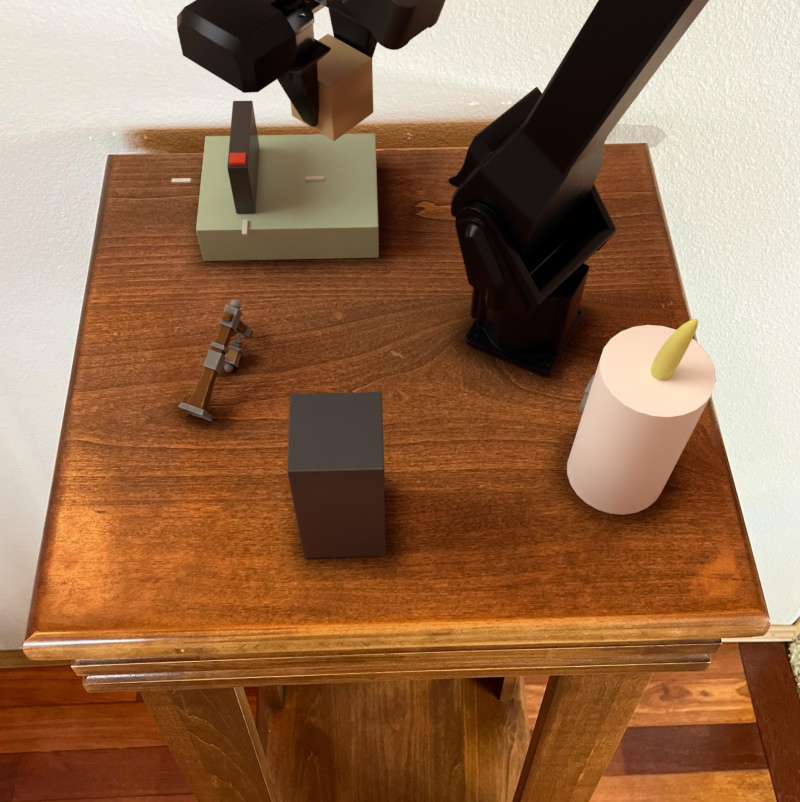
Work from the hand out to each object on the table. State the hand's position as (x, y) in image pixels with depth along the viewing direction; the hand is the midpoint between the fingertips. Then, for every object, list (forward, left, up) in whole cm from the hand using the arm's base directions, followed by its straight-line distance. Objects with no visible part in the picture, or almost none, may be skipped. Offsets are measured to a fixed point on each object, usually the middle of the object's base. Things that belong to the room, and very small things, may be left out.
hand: (332, 108), depth 61 cm
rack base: (+4, +2, -9) cm, 10 cm away
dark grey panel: (+6, +3, -6) cm, 9 cm away
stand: (-14, +23, -9) cm, 29 cm away
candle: (-27, +12, -9) cm, 31 cm away
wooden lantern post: (-1, +18, -9) cm, 20 cm away
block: (0, 0, 0) cm, 0 cm away
